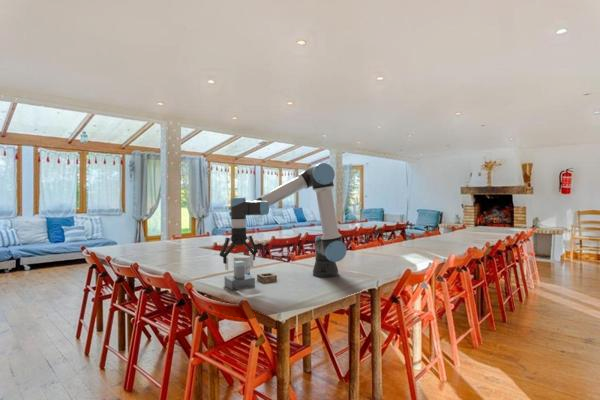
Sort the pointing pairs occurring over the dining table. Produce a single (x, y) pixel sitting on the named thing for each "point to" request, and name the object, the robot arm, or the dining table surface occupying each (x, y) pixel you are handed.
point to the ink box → (246, 263)
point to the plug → (239, 269)
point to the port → (239, 282)
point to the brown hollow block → (266, 277)
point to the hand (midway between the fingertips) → (239, 268)
